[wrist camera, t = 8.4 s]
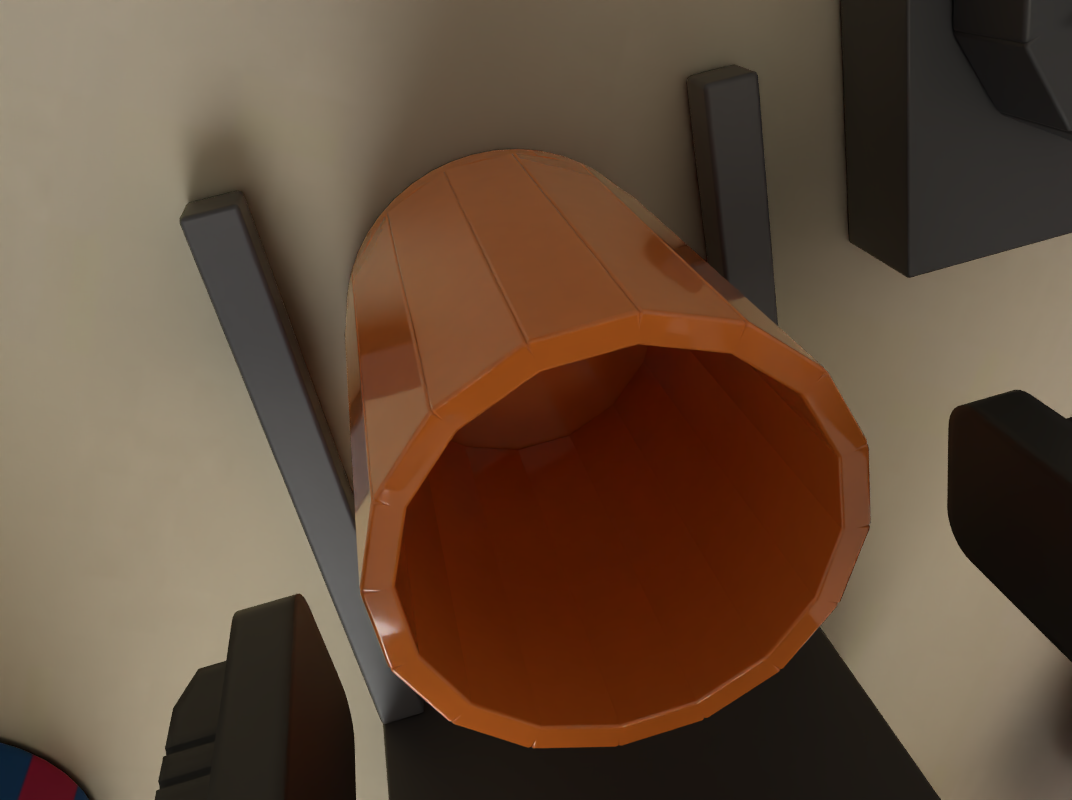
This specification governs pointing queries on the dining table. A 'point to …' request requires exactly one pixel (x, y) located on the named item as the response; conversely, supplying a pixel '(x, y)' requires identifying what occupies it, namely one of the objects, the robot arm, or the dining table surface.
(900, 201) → the control block
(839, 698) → the coffee maker
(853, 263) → the dining table surface
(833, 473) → the orange cup
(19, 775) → the cup
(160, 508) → the dining table surface
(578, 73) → the dining table surface
